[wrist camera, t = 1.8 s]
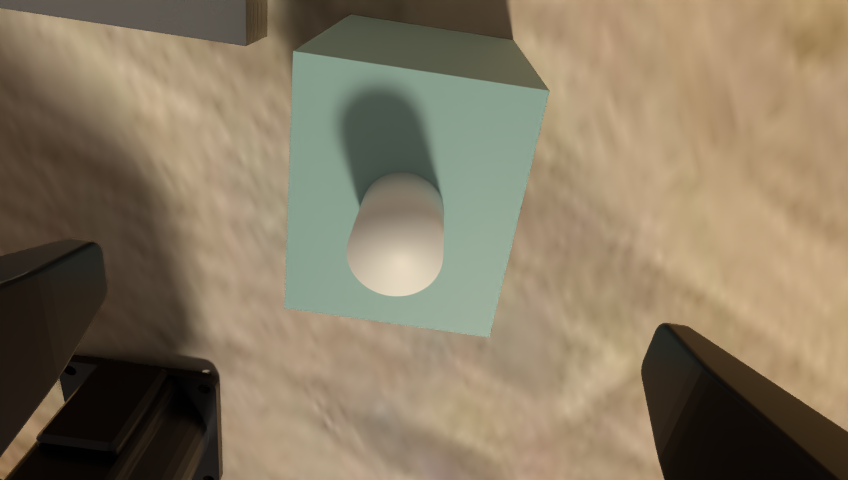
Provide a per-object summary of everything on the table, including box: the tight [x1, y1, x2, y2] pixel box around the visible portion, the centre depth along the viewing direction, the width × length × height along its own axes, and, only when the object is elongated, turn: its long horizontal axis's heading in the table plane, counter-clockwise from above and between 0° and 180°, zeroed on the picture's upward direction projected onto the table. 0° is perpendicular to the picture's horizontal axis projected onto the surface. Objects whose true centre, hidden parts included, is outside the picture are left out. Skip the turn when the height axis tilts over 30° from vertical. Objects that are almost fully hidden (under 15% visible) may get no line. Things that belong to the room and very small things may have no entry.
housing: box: [284, 14, 549, 337], centre depth 14 cm, size 6×5×9 cm
